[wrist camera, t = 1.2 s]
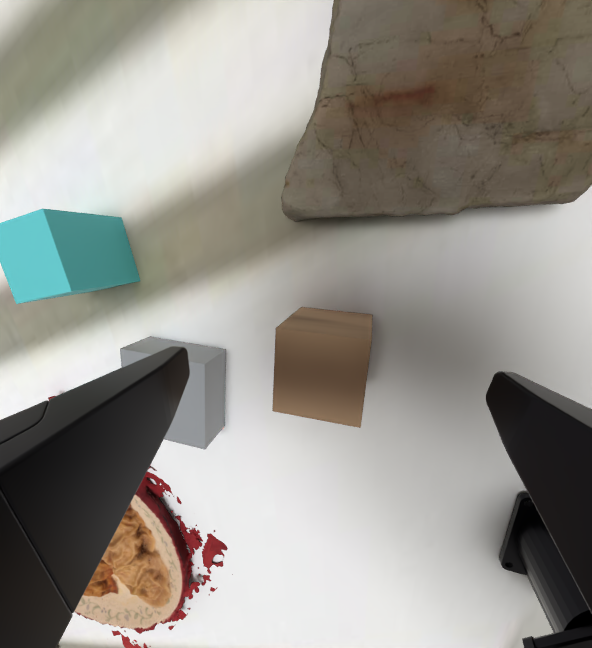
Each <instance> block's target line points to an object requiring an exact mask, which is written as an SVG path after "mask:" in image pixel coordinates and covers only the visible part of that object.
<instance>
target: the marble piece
mask: <svg viewBox="0 0 592 648" xmlns="http://www.w3.org/2000/svg"><path fill="white" fill-rule="evenodd" d="M591 185H592V0H334V3H333V8H332V20H331V25H330V36H329V41H328V47H327V50H326V52H325V55H324V59H323V62H322V68H321V78H320V87H319V90H318V96H317V99H316V102H315V107H314V111H313V113H312V116H311V118H310V120H309V122H308V124H307V127H306V130H305V133H304V135H303V136H302V138H301V140H300V141H299V143H298V145H297V148H296V151H295V154H294V157H293V159H292V162H291V164H290V167H289V171H288V173H287V175H286V177H285V186H284V190H283V193H282V197H281V200H282V210H283V213H284V214H285V215H286V216H287V217H288V218H290V219H292V220H294V221H299V220H305V219H316V218H321V217H326V218H329V217H368V216H381V215H383V216H386V215H389V216H405V215H408V214H417V215H424V216H425V215H430V214H439V213H440V214H448V215H454V214H457V213H459V212H461V211H462V210H464V209H466V208H480V207H498V206H503V207H512V206H525V205H536V204H564V203H570V202H573V201H575V200H576V199H577V198H578V197H580V196H581V195H582V194H583V193H584V192H585V191H587V190H588V188H589V187H590V186H591Z"/></svg>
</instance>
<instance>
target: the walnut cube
mask: <svg viewBox="0 0 592 648" xmlns="http://www.w3.org/2000/svg"><path fill="white" fill-rule="evenodd" d="M371 341H372V315H371V314H361V313H352V312H343V311H333V310H324V309H315V308H305V307H301V308H299V309H298V310H297V311H296V312H295V313H293V314H292V315H291V316H290V317H289V318H287V319H286V320H285V321H284V322H283V323H281V324H280V325H279V326H278V327H277V328H276V339H275V363H274V388H273V411H275V412H280V413H285V414H291V415H296V416H301V417H306V418H312V419H317V420H322V421H327V422H333V423H338V424H343V425H349V426H354V427H359V428H360V427H361V419H362V411H363V404H364V396H365V388H366V380H367V372H368V365H369V357H370V349H371Z"/></svg>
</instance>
